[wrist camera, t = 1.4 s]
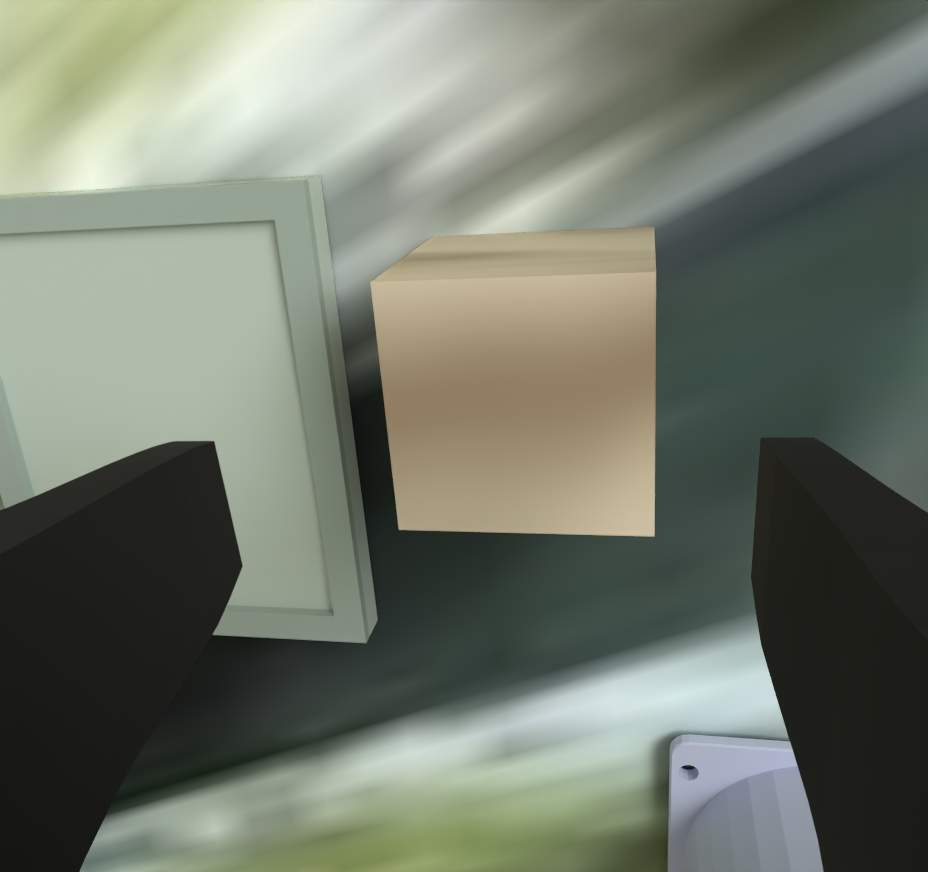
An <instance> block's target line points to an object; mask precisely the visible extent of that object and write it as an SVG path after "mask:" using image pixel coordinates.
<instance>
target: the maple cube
mask: <svg viewBox="0 0 928 872" xmlns="http://www.w3.org/2000/svg"><path fill="white" fill-rule="evenodd" d="M370 284H371V293H372V302H373V310H374V319H375V328H376V336H377V345H378V354H379V362H380V371H381V380H382V388H383V397H384V406H385V414H386V423H387V432H388V440H389V449H390V458H391V466H392V475H393V484H394V492H395V501H396V510H397V518H398V527H399V530H423V531H462V532H501V533H540V534H580V535H619V536H654V521H655V359H656V260H655V237H654V226H651V227H630V228H609V229H587V230H566V231H544V232H523V233H501V234H480V235H458V236H437V237H431V238H430V239H428V240H427V241H426V242H424V243H423V244H422V245H420V246H419V247H417V248H416V249H415V250H413V251H412V252H411V253H409V254H408V255H407V256H405V257H404V258H402V259H401V260H400V261H398V262H397V263H396V264H394V265H393V266H392V267H390V268H389V269H387V270H386V271H385V272H383V273H382V274H381V275H379V276H378V277H377V278H375V279H374V280H372V281H371V282H370Z"/></svg>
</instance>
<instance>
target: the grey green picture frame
mask: <svg viewBox="0 0 928 872" xmlns="http://www.w3.org/2000/svg"><path fill="white" fill-rule="evenodd" d="M172 441H214V442H215V446H216V451H217V455H218V460H219V464H220V468H221V473H222V477H223V482H224V486H225V490H226V495H227V499H228V504H229V508H230V512H231V517H232V521H233V526H234V530H235V534H236V539H237V543H238V548H239V552H240V556H241V561H242V565H243V567H242V569H241V572H240V574H239V577H238V579H237V582H236V584H235V587H234V589H233V592H232V595H231V597H230V599H229V602H228V604H227V606H226V608H225V611H224V613H223V615H222V617H221V620H220V622H219V624H218V626H217V628H216V629H215V631H214V633H213V635H226V636H244V637H263V638H281V639H300V640H318V641H336V642H355V643H367V641H368V639H369V637H370V635H371V633H372V631H373V629H374V626H375V624H376V622H377V620H378V618H377V610H376V603H375V595H374V587H373V579H372V572H371V564H370V556H369V548H368V541H367V533H366V525H365V517H364V510H363V502H362V494H361V486H360V479H359V471H358V463H357V455H356V448H355V440H354V432H353V424H352V417H351V409H350V401H349V393H348V385H347V378H346V370H345V362H344V354H343V347H342V339H341V331H340V323H339V316H338V308H337V300H336V292H335V285H334V277H333V269H332V261H331V254H330V246H329V238H328V230H327V223H326V215H325V207H324V199H323V192H322V184H321V176H307V177H291V178H274V179H258V180H242V181H226V182H210V183H194V184H177V185H161V186H145V187H129V188H113V189H97V190H80V191H64V192H48V193H32V194H16V195H0V495H1V498H2V502H3V505H4V508H8V507H10V506H12V505H15V504H17V503H20V502H22V501H25V500H27V499H30V498H32V497H34V496H37V495H39V494H41V493H44V492H46V491H48V490H51V489H53V488H55V487H57V486H60V485H62V484H64V483H66V482H69V481H71V480H73V479H76V478H78V477H80V476H82V475H85V474H87V473H89V472H92V471H94V470H96V469H99V468H101V467H103V466H106V465H108V464H110V463H113V462H115V461H117V460H120V459H122V458H125V457H127V456H130V455H132V454H135V453H137V452H140V451H143V450H145V449H148V448H151V447H154V446H157V445H161V444H164V443H168V442H172Z"/></svg>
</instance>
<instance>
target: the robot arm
mask: <svg viewBox="0 0 928 872" xmlns="http://www.w3.org/2000/svg"><path fill="white" fill-rule="evenodd" d="M242 567H243V565H242V561H241V556H240V552H239V548H238V543H237V539H236V534H235V530H234V526H233V521H232V517H231V512H230V508H229V504H228V499H227V495H226V490H225V486H224V482H223V477H222V473H221V468H220V464H219V460H218V455H217V451H216V446H215V442H214V441H172V442H168V443H164V444H161V445H157V446H154V447H151V448H148V449H145V450H143V451H140V452H137V453H135V454H132V455H130V456H127V457H125V458H122V459H120V460H117V461H115V462H113V463H110V464H108V465H106V466H103V467H101V468H99V469H96V470H94V471H92V472H89V473H87V474H85V475H82V476H80V477H78V478H76V479H73V480H71V481H69V482H66V483H64V484H62V485H60V486H57V487H55V488H53V489H51V490H48V491H46V492H44V493H41V494H39V495H37V496H34V497H32V498H30V499H27V500H25V501H22V502H20V503H17V504H15V505H12V506H10V507H8V508H5V509H3V510H0V872H79V871H80V868H81V866H82V864H83V862H84V859H85V857H86V855H87V853H88V851H89V849H90V847H91V845H92V843H93V841H94V839H95V836H96V834H97V832H98V830H99V828H100V826H101V824H102V822H103V820H104V818H105V816H106V814H107V812H108V810H109V808H110V805H111V803H112V801H113V799H114V797H115V795H116V793H117V791H118V789H119V787H120V785H121V783H122V782H123V780H124V778H125V776H126V775H127V773H128V771H129V769H130V768H131V766H132V764H133V762H134V761H135V759H136V757H137V755H138V754H139V752H140V751H141V749H142V747H143V746H144V744H145V743H146V741H147V739H148V738H149V736H150V735H151V733H152V731H153V730H154V728H155V727H156V725H157V723H158V722H159V720H160V719H161V717H162V715H163V714H164V712H165V711H166V709H167V707H168V706H169V704H170V703H171V701H172V699H173V698H174V696H175V695H176V693H177V692H178V690H179V688H180V687H181V685H182V684H183V682H184V680H185V679H186V677H187V676H188V674H189V672H190V671H191V669H192V668H193V666H194V664H195V663H196V661H197V659H198V658H199V656H200V654H201V653H202V651H203V649H204V648H205V646H206V645H207V643H208V641H209V640H210V638H211V636H212V635H213V633H214V631H215V629H216V628H217V626H218V624H219V622H220V620H221V617H222V615H223V613H224V611H225V608H226V606H227V604H228V602H229V599H230V597H231V595H232V592H233V589H234V587H235V584H236V582H237V579H238V577H239V574H240V572H241V569H242ZM751 580H752V587H753V594H754V601H755V608H756V615H757V621H758V627H759V633H760V640H761V645H762V649H763V652H764V656H765V659H766V663H767V666H768V669H769V673H770V676H771V680H772V683H773V686H774V690H775V693H776V696H777V700H778V703H779V706H780V710H781V713H782V716H783V720H784V723H785V726H786V730H787V733H788V736H789V740H790V741H776V740H762V739H748V738H734V737H720V736H706V735H692V734H687V735H680V736H678V737H676V738H675V739H674V740H673V741H672V742H671V744H670V753H669V814H668V872H928V513H927V512H926V511H924V510H922V509H921V508H919V507H918V506H916V505H914V504H913V503H911V502H910V501H908V500H907V499H905V498H904V497H902V496H901V495H899V494H898V493H896V492H895V491H893V490H892V489H890V488H889V487H887V486H886V485H884V484H883V483H881V482H880V481H878V480H877V479H875V478H874V477H873V476H871V475H870V474H868V473H867V472H865V471H864V470H862V469H861V468H860V467H858V466H857V465H855V464H854V463H852V462H851V461H849V460H848V459H847V458H845V457H844V456H842V455H841V454H839V453H838V452H836V451H835V450H833V449H832V448H830V447H829V446H827V445H826V444H824V443H823V442H821V441H819V440H817V439H815V438H761V443H760V457H759V472H758V486H757V500H756V515H755V529H754V543H753V558H752V572H751ZM684 765H691V766H694V767H695V768H694V769H692V770H686V769H683V768H682V766H684Z"/></svg>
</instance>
